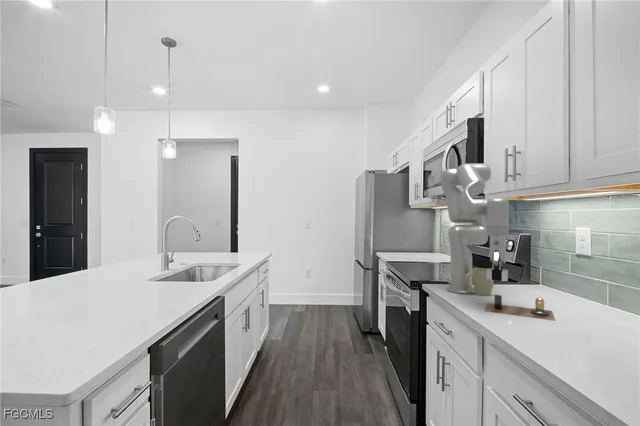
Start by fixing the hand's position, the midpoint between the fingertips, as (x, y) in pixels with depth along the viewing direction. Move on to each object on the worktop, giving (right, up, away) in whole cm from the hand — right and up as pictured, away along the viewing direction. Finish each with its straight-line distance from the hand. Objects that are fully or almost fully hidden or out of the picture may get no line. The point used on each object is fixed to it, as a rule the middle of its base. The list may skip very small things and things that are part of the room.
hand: (497, 278), depth 123 cm
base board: (+6, -12, -4) cm, 14 cm away
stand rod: (0, -11, -1) cm, 11 cm away
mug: (+5, -13, +22) cm, 26 cm away
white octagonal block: (0, 0, 0) cm, 0 cm away
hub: (+11, -11, -7) cm, 17 cm away
